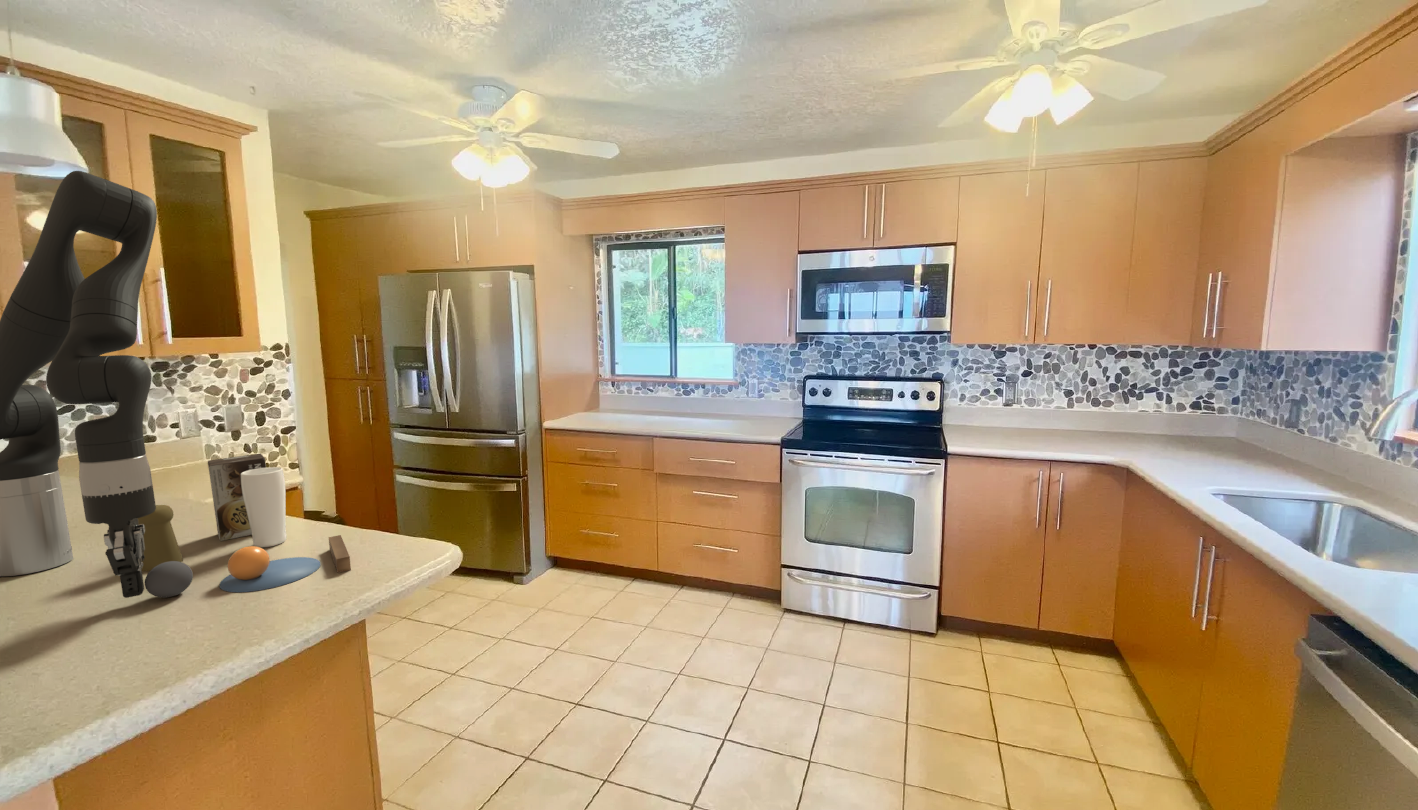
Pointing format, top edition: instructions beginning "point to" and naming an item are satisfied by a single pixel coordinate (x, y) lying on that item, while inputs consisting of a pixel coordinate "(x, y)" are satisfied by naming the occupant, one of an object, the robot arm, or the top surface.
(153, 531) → the cork
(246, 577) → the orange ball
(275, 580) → the blue flat round disc
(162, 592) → the gray ball
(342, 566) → the brown bar
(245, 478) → the drinking glass
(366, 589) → the top surface
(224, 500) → the coffee box
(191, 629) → the top surface
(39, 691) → the top surface
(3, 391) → the robot arm
